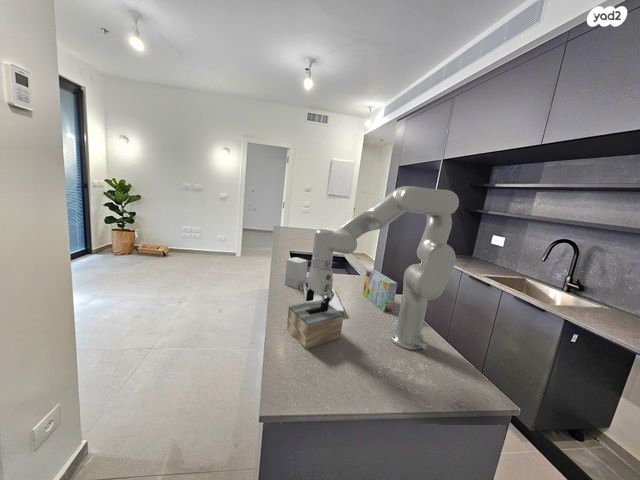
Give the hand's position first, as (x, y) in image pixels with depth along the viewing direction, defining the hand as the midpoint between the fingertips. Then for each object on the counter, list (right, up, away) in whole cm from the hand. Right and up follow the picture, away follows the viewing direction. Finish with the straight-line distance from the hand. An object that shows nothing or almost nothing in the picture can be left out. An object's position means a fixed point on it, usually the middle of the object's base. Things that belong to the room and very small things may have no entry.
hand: (316, 305), depth 102 cm
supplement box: (-13, -1, +50) cm, 52 cm away
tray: (+2, -6, +33) cm, 34 cm away
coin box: (-1, -12, +2) cm, 12 cm away
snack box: (+31, -8, +39) cm, 51 cm away
